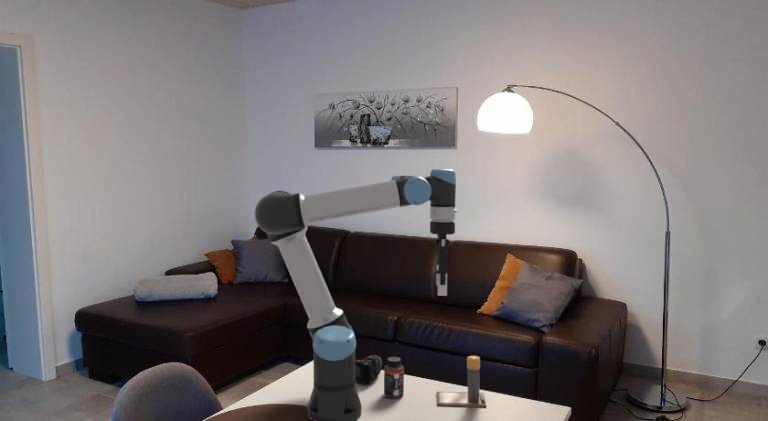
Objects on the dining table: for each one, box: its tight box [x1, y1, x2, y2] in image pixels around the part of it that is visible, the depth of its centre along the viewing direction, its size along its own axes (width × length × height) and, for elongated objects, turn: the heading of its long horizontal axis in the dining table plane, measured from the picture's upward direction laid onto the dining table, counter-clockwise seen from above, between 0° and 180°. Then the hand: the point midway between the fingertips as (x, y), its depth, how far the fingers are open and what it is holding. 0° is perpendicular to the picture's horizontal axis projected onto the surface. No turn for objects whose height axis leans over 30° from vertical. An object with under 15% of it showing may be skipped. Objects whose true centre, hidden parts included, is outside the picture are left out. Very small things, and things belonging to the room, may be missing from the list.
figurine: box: [355, 354, 383, 386], centre depth 187 cm, size 9×8×15 cm
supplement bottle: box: [383, 356, 405, 399], centre depth 174 cm, size 6×6×11 cm
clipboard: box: [436, 391, 487, 408], centre depth 171 cm, size 14×9×2 cm, turn 86°
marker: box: [466, 355, 481, 403], centre depth 168 cm, size 4×4×13 cm
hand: (441, 290), depth 175 cm, fingers open, 13 cm apart
